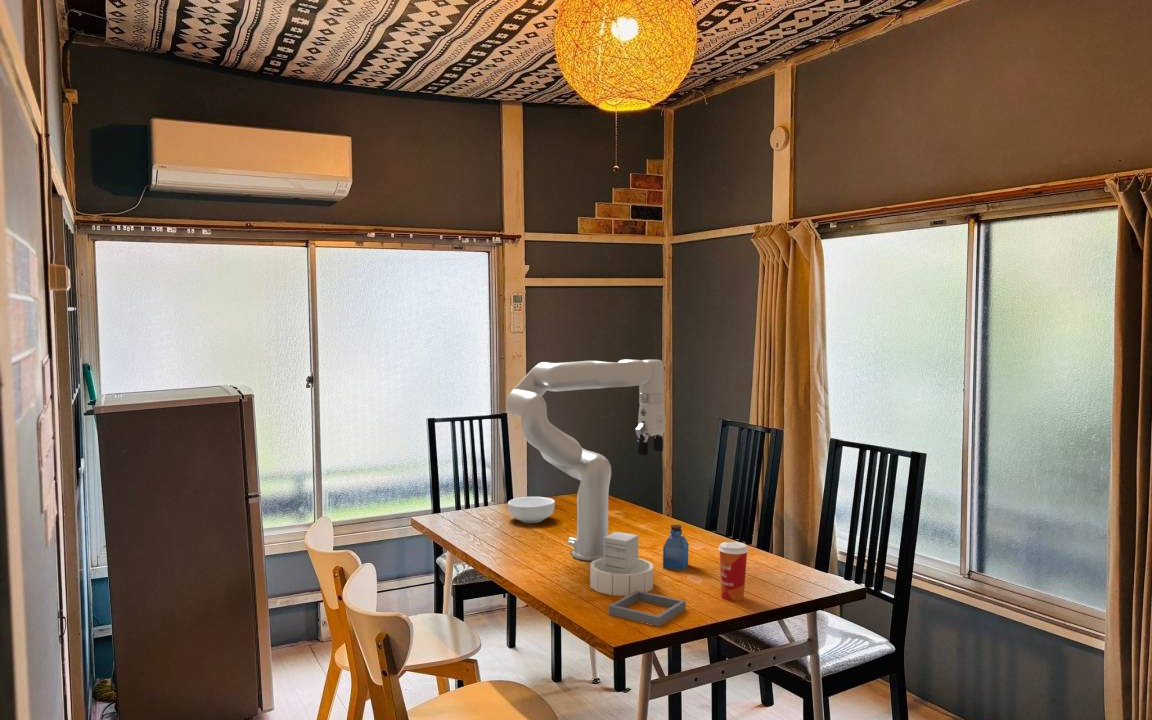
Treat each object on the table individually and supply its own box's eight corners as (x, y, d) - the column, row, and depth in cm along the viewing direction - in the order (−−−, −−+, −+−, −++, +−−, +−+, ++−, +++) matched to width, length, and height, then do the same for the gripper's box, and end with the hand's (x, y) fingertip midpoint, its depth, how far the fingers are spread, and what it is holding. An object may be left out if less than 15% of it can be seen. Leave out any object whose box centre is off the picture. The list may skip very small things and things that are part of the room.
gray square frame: (608, 614, 204) (608, 605, 203) (637, 598, 215) (637, 590, 215) (658, 626, 196) (658, 617, 196) (685, 609, 207) (685, 601, 207)
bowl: (578, 587, 224) (578, 567, 223) (611, 571, 238) (611, 552, 237) (632, 599, 214) (632, 578, 214) (664, 582, 228) (664, 563, 228)
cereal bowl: (528, 512, 309) (528, 494, 309) (564, 519, 299) (564, 500, 299) (498, 521, 295) (498, 502, 295) (534, 528, 286) (534, 508, 285)
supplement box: (615, 575, 231) (615, 530, 230) (639, 580, 227) (639, 534, 226) (602, 582, 225) (602, 536, 224) (626, 587, 221) (626, 540, 220)
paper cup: (714, 593, 220) (715, 541, 219) (742, 592, 220) (743, 540, 220) (722, 603, 212) (722, 549, 211) (751, 602, 213) (752, 548, 212)
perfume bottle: (688, 564, 245) (688, 524, 245) (683, 570, 239) (684, 529, 239) (667, 562, 247) (668, 522, 247) (662, 568, 242) (663, 527, 241)
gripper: (648, 401, 251) (647, 457, 252) (674, 397, 266) (674, 450, 267) (626, 400, 256) (626, 455, 257) (654, 396, 270) (653, 448, 271)
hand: (650, 452), depth 262 cm, fingers open, 9 cm apart
